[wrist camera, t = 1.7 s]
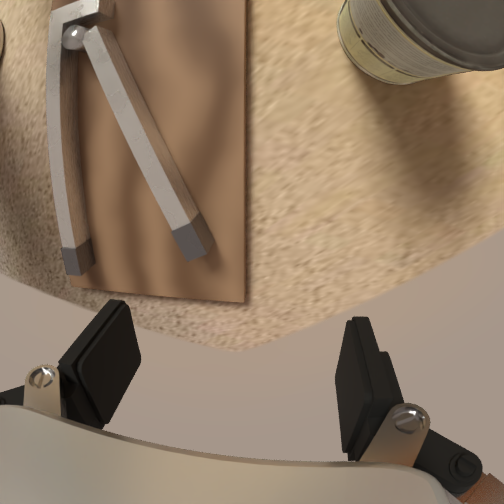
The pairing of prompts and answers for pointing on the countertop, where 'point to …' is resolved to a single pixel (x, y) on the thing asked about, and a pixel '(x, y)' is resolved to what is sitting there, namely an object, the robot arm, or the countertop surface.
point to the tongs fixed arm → (69, 131)
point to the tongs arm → (143, 138)
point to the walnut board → (169, 149)
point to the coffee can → (422, 37)
